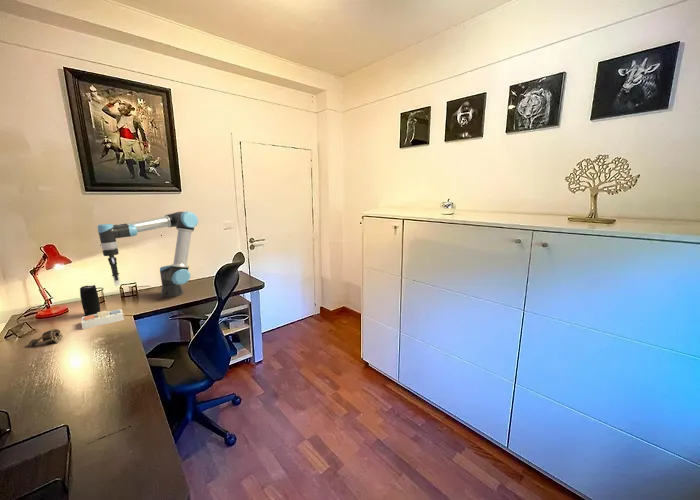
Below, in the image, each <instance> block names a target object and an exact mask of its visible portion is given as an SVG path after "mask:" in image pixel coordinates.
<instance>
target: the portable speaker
mask: <svg viewBox="0 0 700 500" xmlns="http://www.w3.org/2000/svg"><path fill="white" fill-rule="evenodd" d="M96 287H97V286H96V285H95V284H94V285H93V284H92V285H82V286H81V287H80V288H79V295H80V301H81V302H80V303H81V306H82V309H83V313H84V316H89V315H94V314H97V312H101V306H100V305H101V304H100V299H99V294H98V290H97V288H96Z"/></svg>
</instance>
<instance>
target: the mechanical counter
mask: <svg viewBox="0 0 700 500" xmlns="http://www.w3.org/2000/svg"><path fill="white" fill-rule="evenodd" d="M62 338H64V335H63V334H62V333H61V330H59V329H57V328H52V329H51V330H47V331H45V332H43V333H42V335H41V336H40V337H39V338H34V339H32V340H30V341H29V343H28V347H30V348H31V347H34V346H40V345H43V344H48V345H49V344H52V343H56V344H58V343H59V342H60V341H61V340H62ZM40 340H42V341H41V342H39V341H40Z"/></svg>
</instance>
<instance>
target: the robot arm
mask: <svg viewBox="0 0 700 500" xmlns="http://www.w3.org/2000/svg"><path fill="white" fill-rule="evenodd" d="M198 223H199V219H198V216H197V215H196V213H194V212H191V211H187V210H186V211H176V212H173V213H168V214H164V216H158V217H155V218H149V219H143V220H138V221H131V222H126V223H119V224H113V223H103V224H98V225H97V233H98V236H99V241H100V245H99V246H100V247H101V249H102V253H103V257H108V258H107V260H108V263H109V266H110V270H111V274H112V275H111V277H112V278H113V282H114V286H116V287H117V286H121V281H120V276H119V275H120V273H119V272H118V271H119V269H118V263H117V257H115V256H116V255H119V249H118V243H117V239H120V238H121V239H122V238H130V237H135V236H137V235H138V233H141V232H146V231H152V230H157V229H162V228H166V227H167V228H175V229H176V230H177V237H176V244H175V250H174V257H173V258H174V259H173V263H171V265H164V266H161V267H160V268H159V273H160V280H161V281H160V282H161V291H160V297H161V298H174V297H178V296H181V295H183V294H184V290H183V288H182V287H183V286H182V285H185V284H186V283H188V282H189V280H190V279H191V272H190V271H189V266H188V257H189V253H190V244H191V236H192V232H194V231H195V227H196V226H197V225H198Z"/></svg>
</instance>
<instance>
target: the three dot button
mask: <svg viewBox="0 0 700 500" xmlns="http://www.w3.org/2000/svg"><path fill="white" fill-rule="evenodd" d="M83 317H84V316H83ZM93 318H95V316H94V315H91V316H86V317H84V320H89V319H93Z"/></svg>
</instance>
